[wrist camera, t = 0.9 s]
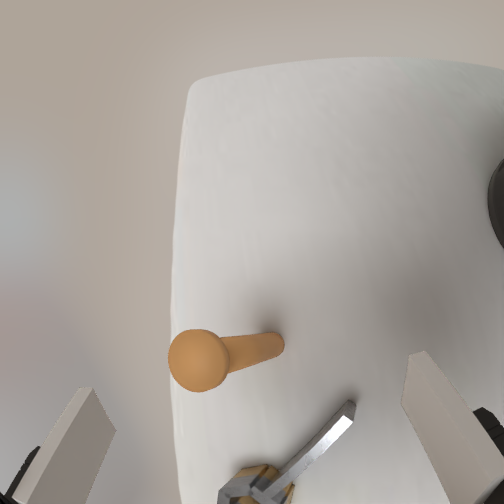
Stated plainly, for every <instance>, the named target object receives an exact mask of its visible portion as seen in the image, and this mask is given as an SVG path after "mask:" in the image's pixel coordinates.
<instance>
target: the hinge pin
mask: <svg viewBox="0 0 504 504" xmlns="http://www.w3.org/2000/svg"><path fill="white" fill-rule="evenodd" d="M283 349H284V341H283V339H282V337H281V336H280V335H279V334H277V333H273V332H270V333H262V334H252V335H243V336H232V337H221V338H219V337H218V336H217V335H216V334H214V333H212V332H210V331H208V330H202V329H197V330H186V331H184V332H182V333H180V334H179V335H177V336H176V337H175V339H174V340H173V342H172V343H171V346H170V349H169V353H168V363H169V368H170V371H171V373H172V375H173V377H174V379H175V380H176V381H177V382H178V384H180V385H181V386H182V387H183V388H185V389H187V390H189V391H192V392H204V391H207V390H210V389H213V388H215V387H217V386H219V385H220V384H221V383H222V382H223V381H224V379H225V378H226V376H227V374H228V373H231V372H234V371H237V370H240V369H243V368H246V367H249V366H252V365H255V364H258V363H260V362H263V361H266V360H269V359H272V358H274V357H277V356H279V355H280V354H281V353H282V352H283Z"/></svg>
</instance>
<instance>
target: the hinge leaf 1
mask: <svg viewBox="0 0 504 504" xmlns="http://www.w3.org/2000/svg"><path fill="white" fill-rule="evenodd" d="M355 410H356V405H355V404H354V403H352V402H351V401H350V400H348V401H347V402H346V403H345V404H344V405H343V407H342V408H341V409H340V410H339V411H338V412H337V413H336V414H335V416H334V417H333V418H332V419H331V420H330V421H329V422H328V423H327V424H326V425H325V426H324V427H323V428H322V429H321V431H320V432H319V433H318V434H317V435H316V436H315V437H314V438H313V439H312V440H311V441H310V442H309V443H308V444H307V445H306V446H305V447H304V448H303V449H302V450H301V451H300V452H299V453H298V454H297V455H296V456H294V457H293V458H292V459H291V460H290V461H289V462H288V463H287V464H286V465H285V466H284V467H283V468H282V469H280V470H279V471H278V473H277V474H276V475H275V477H274V478H273V479H272V481H270V480H269V479H268V478H266V477H265V476H264V475H263V476H262V477H261V478H260V476H259V474H255V475H249V476H243V477H236V478H232V479H231V480H230V481H229V482H228V483H227V484H225V485H224V486H223V487H222V488H221V489H220V490H219V493H218V500H217V504H241V503H240V502H238V500H239V497H240V496H248V495H250V496H251V497H253V498H254V499H255V500H256V501H258V502H259V503H260V504H286V503H287V500H288V496H285V494H286V492H285V491H284V490H282V489H283V488H284V487H286V486H287V485H288V484H289V483H290V482H292V481H293V480H294V479H295V478H296V477H297V476H299V475H300V474H301V473H302V472H303V471H304V470H305V469H306V468H307V467H309V466H310V465H311V464H312V463H313V462H314V461H315V460H316V459H317V458H318V457H319V456H320V455H321V454H322V453H323V452H324V451H325V450H327V449H328V448H329V447H330V446H331V445H332V444H333V443H334V442H335V441H336V440H337V438H338V437H339V436H340V435H341V434H342V433H343V432H344V431H345V430H346V429H347V428H348V427H349V426H350V425H351V424H352V423H353V420H354V415H355Z"/></svg>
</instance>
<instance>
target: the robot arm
mask: <svg viewBox="0 0 504 504" xmlns="http://www.w3.org/2000/svg"><path fill="white" fill-rule="evenodd" d="M488 207H489V213H490V218H491V222H492V225H493V228H494V230H495V233H496V235H497V237H498V239H499V241H500V243H501V244H502V246H503V247H504V159H503V160H502V162H501V163H500V164H499V166H498V167H497V169H496V170H495V172H494V174H493V176H492V178H491V181H490V185H489V190H488ZM401 405H402V407H403V408H404V410H405V412H406V414H407V416H408V418H409V420H410V422H411V424H412V426H413V427H414V429H415V431H416V433H417V435H418V437H419V439H420V441H421V443H422V445H423V447H424V449H425V451H426V453H427V455H428V457H429V459H430V461H431V463H432V465H433V467H434V469H435V471H436V473H437V475H438V477H439V480H440V482H441V484H442V486H443V488H444V490H445V492H446V495H447V497H448V499H449V501H450V503H451V504H483V503H484V504H504V428H503V426H502V425H500V422H499V421H498V420H497V418H496V417H495V416H494V414H493V413H491V412H489V411H488V410H486V409H485V408H483V407H482V408H479V409H477V410H475V411H473V412H472V411H471V410H470V408H469V407H468V405H467V404H466V403H465V401H464V400H463V399H462V397H461V396H460V395H459V393H458V392H457V391H456V389H455V388H454V387H453V385H452V384H451V383H450V382H449V380H448V379H447V378H446V376H445V375H444V374H443V372H442V371H441V370H440V369H439V367H438V366H437V365H436V364H435V362H434V361H433V360H432V359H431V357H430V356H429V355H428V354H427V352H426V351H422V352H419V353H415V354H411V355H409V358H408V365H407V372H406V378H405V384H404V389H403V395H402V400H401ZM115 432H116V429H115V428H114V426H113V424H112V422H111V421H110V419H109V417H108V415H107V414H106V412H105V410H104V408H103V406H102V405H101V403H100V401H99V399H98V397H97V395H96V393H95V391H94V389H93V388H82V387H80V388H79V389H78V390H77V392H76V393H75V395H74V396H73V398H72V399H71V401H70V402H69V404H68V405H67V407H66V408H65V410H64V411H63V413H62V414H61V416H60V418H59V419H58V421H57V422H56V424H55V425H54V427H53V429H52V430H51V432H50V433H49V435H48V436H47V438H46V440H45V441H44V443H43V445H42V446H41V447H40V446H38V447H36V448H35V449H34V450H33V451H32V452H31V453H30V454H29V455H28V457H27V459H26V460H25V464H23V465H22V467H21V470H20V471H19V472H18V474H17V475H16V477H15V479H14V480H13V482H12V484H11V485H10V487H9V489H8V491H7V492H6V494H5V495H3V494H2V493H1V492H0V504H85V503H86V500H87V498H88V495H89V493H90V490H91V488H92V485H93V483H94V481H95V478H96V476H97V474H98V471H99V469H100V467H101V464H102V462H103V460H104V457H105V455H106V453H107V450H108V448H109V446H110V443H111V441H112V439H113V437H114V434H115Z"/></svg>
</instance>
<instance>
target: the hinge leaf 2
mask: <svg viewBox="0 0 504 504" xmlns="http://www.w3.org/2000/svg"><path fill="white" fill-rule="evenodd" d="M277 473H278V470H277V469H276V468H274V467H273V466H270V467H269V468H268V466H267V464H266V465H261V466H255V467H250V468H244V469H242V470H241V471H239V472H238V473H237V474H236V475H235V476H234V477H233V478H236V477H243V476H249V475H255V474H259V476H260V478H261V477H262V476H263V475H264V476H265V477H266V478H268V479H269V480H270V481H272V479H273V478H274V477H275V475H276V474H277ZM292 483H293V481H292V482H290V483H289V484H288V485H287V486H286V487H284V488H283V489H282V490H284V491H285V492H286V494H285V496H288V500H287V503H286V504H290V502H291V499H292V495H293V491H294V486H295V485H291V484H292ZM238 502H240V503H241V504H260V503H259V502H258V501H256V500H255V499H254V498H253V497H251V496H250V495H248V496H240V497H239V500H238Z"/></svg>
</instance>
